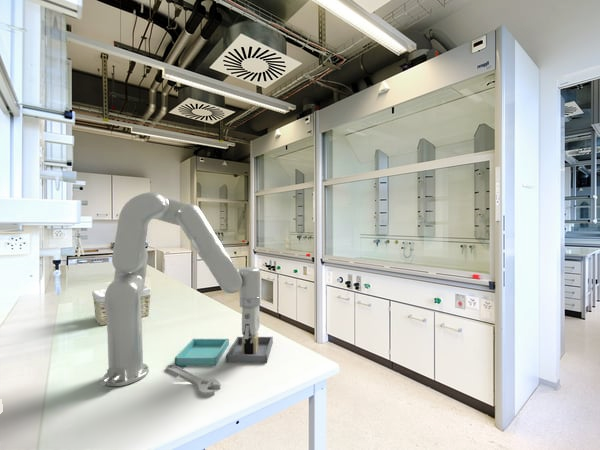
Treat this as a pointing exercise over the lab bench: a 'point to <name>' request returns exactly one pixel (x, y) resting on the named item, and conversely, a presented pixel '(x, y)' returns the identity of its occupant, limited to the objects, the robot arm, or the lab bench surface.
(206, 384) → the adjustable wrench
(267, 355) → the charcoal bin
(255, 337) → the sandstone block
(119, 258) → the robot arm
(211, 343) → the teal bin
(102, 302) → the storage basket
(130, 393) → the lab bench surface
